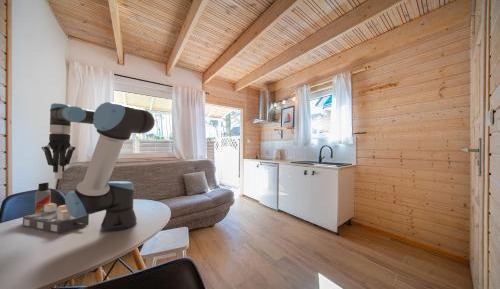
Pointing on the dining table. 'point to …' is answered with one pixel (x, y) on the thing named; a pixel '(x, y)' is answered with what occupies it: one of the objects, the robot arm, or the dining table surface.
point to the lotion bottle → (42, 197)
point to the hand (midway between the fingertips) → (58, 178)
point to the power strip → (53, 222)
